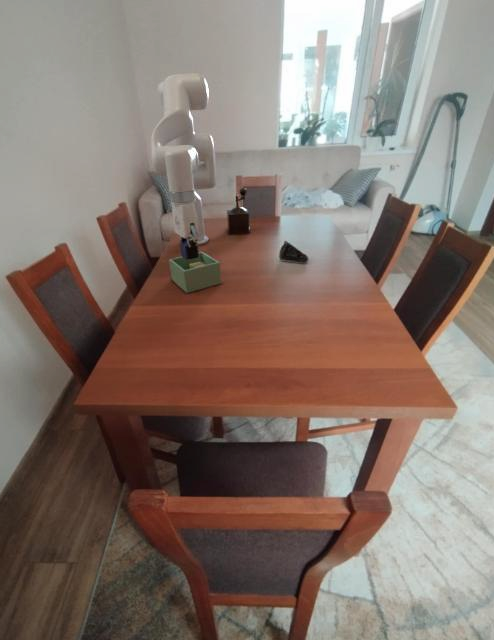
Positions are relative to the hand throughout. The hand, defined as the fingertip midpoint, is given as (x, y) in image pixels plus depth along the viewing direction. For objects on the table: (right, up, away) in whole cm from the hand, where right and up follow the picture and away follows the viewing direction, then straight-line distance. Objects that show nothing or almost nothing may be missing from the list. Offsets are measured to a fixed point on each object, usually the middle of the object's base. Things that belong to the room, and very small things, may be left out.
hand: (189, 255), depth 112 cm
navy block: (0, 0, 0) cm, 0 cm away
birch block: (+2, -4, +10) cm, 11 cm away
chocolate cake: (+40, +6, +22) cm, 46 cm away
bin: (+1, -7, +9) cm, 11 cm away
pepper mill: (+18, +33, +57) cm, 69 cm away
